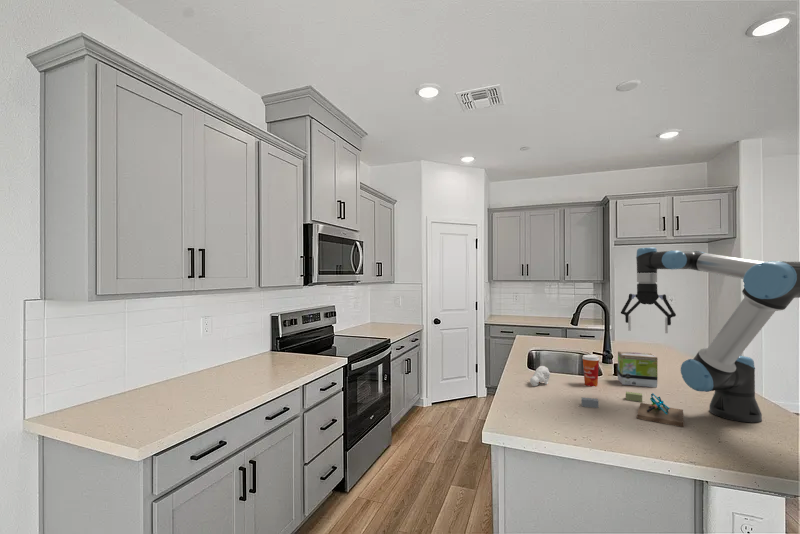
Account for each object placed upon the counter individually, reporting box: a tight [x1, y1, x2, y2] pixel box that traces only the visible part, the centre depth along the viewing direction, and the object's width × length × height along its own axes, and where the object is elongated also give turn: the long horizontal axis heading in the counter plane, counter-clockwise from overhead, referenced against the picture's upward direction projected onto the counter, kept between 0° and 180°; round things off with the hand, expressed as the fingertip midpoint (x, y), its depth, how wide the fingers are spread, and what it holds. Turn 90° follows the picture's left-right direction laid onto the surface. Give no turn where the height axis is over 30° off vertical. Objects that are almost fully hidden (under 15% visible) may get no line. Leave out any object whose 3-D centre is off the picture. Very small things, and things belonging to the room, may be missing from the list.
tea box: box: [617, 350, 658, 389], centre depth 191 cm, size 15×10×15 cm, turn 73°
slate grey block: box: [580, 397, 599, 409], centre depth 159 cm, size 6×3×3 cm, turn 70°
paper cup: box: [581, 354, 600, 387], centre depth 189 cm, size 8×8×14 cm
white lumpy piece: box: [529, 365, 551, 387], centre depth 190 cm, size 6×8×12 cm
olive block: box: [625, 391, 643, 403], centre depth 167 cm, size 6×3×3 cm, turn 59°
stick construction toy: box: [647, 392, 671, 414], centre depth 149 cm, size 12×7×8 cm
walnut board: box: [636, 402, 684, 428], centre depth 148 cm, size 14×16×2 cm
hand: (647, 331), depth 170 cm, fingers open, 13 cm apart
